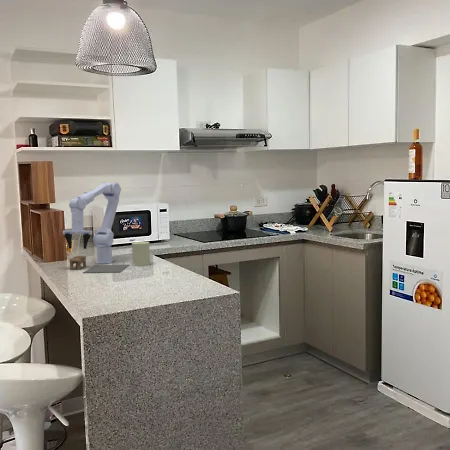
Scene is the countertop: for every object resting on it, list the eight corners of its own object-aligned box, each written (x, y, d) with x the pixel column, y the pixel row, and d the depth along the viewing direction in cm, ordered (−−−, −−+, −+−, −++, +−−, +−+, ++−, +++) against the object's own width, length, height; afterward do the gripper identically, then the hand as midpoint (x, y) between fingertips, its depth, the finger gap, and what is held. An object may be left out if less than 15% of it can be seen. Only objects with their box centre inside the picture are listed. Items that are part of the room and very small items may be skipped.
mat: (95, 265, 267) (95, 265, 267) (129, 265, 266) (129, 264, 266) (83, 273, 247) (82, 272, 247) (119, 272, 246) (119, 271, 246)
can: (133, 266, 262) (132, 243, 261) (131, 263, 271) (130, 241, 270) (151, 265, 265) (150, 242, 264) (149, 262, 274) (148, 240, 273)
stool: (76, 266, 267) (76, 256, 266) (86, 266, 266) (85, 255, 266) (70, 270, 257) (69, 259, 256) (79, 269, 256) (79, 258, 256)
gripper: (60, 221, 256) (60, 249, 257) (89, 222, 255) (89, 249, 256) (65, 221, 263) (65, 247, 264) (93, 221, 262) (93, 248, 263)
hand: (77, 248), depth 260 cm, fingers open, 7 cm apart
